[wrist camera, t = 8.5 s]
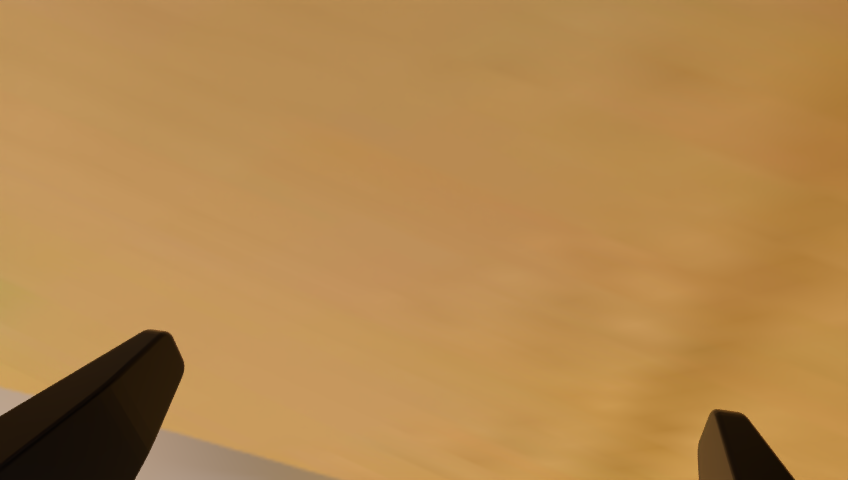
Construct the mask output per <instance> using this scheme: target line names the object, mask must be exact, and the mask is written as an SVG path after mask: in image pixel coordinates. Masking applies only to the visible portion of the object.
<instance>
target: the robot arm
mask: <svg viewBox="0 0 848 480" xmlns="http://www.w3.org/2000/svg"><path fill="white" fill-rule="evenodd" d="M183 373H184V361H183V358H182V356H181V354H180V352H179V350H178V347H177V345H176V343H175V341H174V339H173V337H172V335H171V334H170V333H168V332H166V331H159V330H145V331H143V332H141V333H139V334H137V335H136V336H134V337H132V338H131V339H129V340H127V341H126V342H124V343H122V344H121V345H119V346H117V347H116V348H114V349H112V350H110V351H109V352H107V353H105V354H104V355H102V356H100V357H99V358H97V359H95V360H94V361H92V362H90V363H89V364H87V365H85V366H84V367H82V368H80V369H79V370H77V371H75V372H74V373H72V374H70V375H68V376H67V377H65V378H63V379H62V380H60V381H58V382H57V383H55V384H53V385H52V386H50V387H48V388H47V389H45V390H43V391H42V392H40V393H38V394H37V395H35V396H33V397H32V398H30V399H28V400H27V401H25V402H23V403H22V404H20V405H18V406H16V407H15V408H13V409H11V410H10V411H8V412H7V413H5V414H3V415H1V416H0V480H135V478H136V476H137V474H138V473H139V471H140V469H141V467H142V465H143V464H144V461H145V460H146V458H147V456H148V454H149V452H150V450H151V448H152V445H153V443H154V441H155V439H156V437H157V434H158V432H159V430H160V427H161V425H162V423H163V420H164V418H165V416H166V413H167V411H168V409H169V406H170V404H171V402H172V399H173V397H174V395H175V392H176V390H177V388H178V385H179V383H180V381H181V378H182V376H183ZM698 471H699V480H795V479H794V478H793V476H792V475H791V474H790V473H789V471H788V470H787V469H786V467H785V466H784V465H783V463H782V462H781V461H780V460H779V458H778V457H777V456H776V454H775V453H774V452H773V450H772V449H771V448H770V446H769V445H768V444H767V443H766V441H765V440H764V439H763V437H762V436H761V435H760V433H759V432H758V431H757V429H756V428H755V427H754V426H753V424H752V423H751V422H750V420H749V419H748V418H747V417H746V416H745V415H744V414H742V413H739V412H734V411H727V410H720V409H715V410H713V411H712V412H711V413H710V415H709V417H708V420H707V422H706V425H705V428H704V430H703V433H702V435H701V438H700V441H699V445H698Z"/></svg>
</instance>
